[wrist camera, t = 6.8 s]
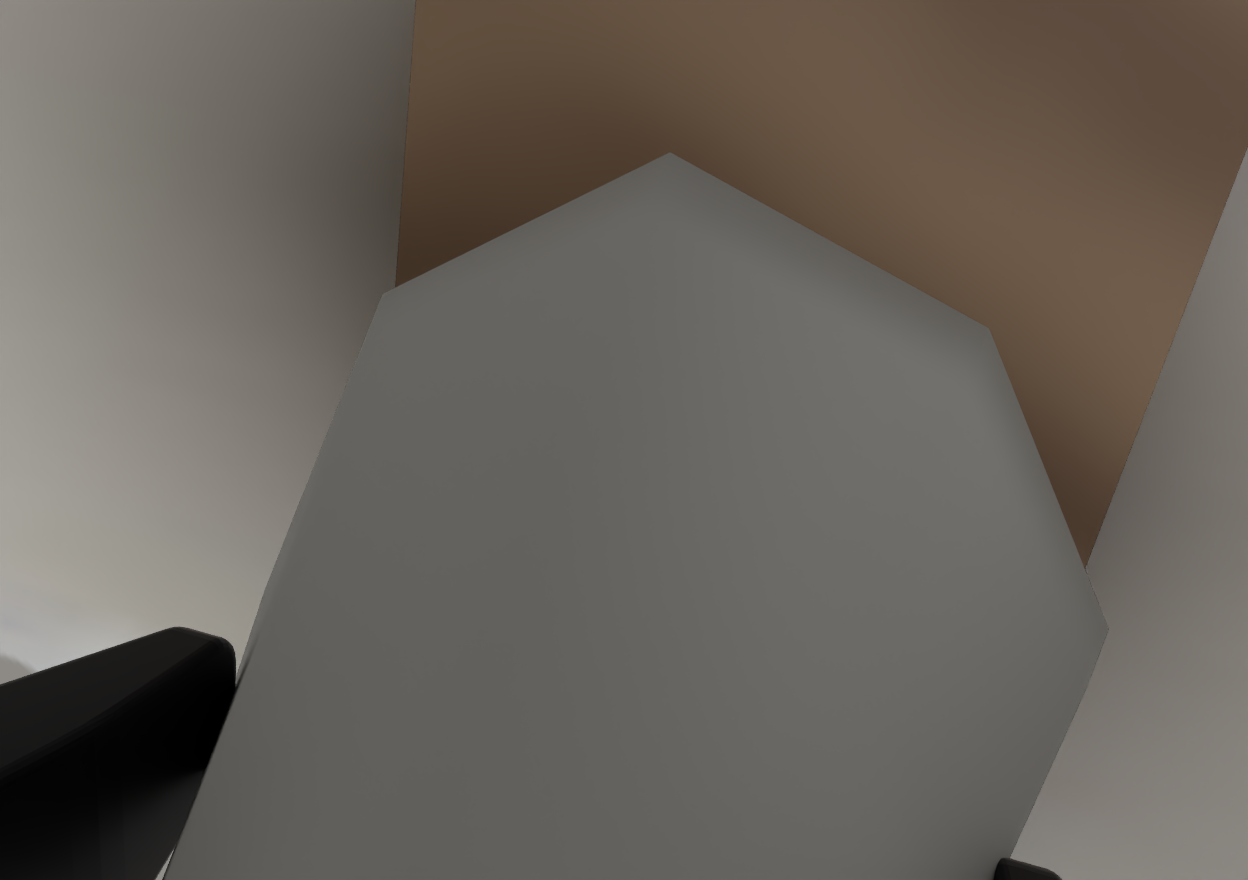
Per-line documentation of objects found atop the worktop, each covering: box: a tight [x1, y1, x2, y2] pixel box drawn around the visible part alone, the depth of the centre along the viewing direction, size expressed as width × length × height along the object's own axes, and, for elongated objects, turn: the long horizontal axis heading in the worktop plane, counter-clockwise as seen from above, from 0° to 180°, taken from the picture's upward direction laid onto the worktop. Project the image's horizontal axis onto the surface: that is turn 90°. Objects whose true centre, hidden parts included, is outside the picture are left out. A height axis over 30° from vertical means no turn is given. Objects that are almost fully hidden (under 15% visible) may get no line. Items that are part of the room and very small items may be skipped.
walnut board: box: [395, 0, 1248, 568], centre depth 18 cm, size 18×12×1 cm, turn 171°
